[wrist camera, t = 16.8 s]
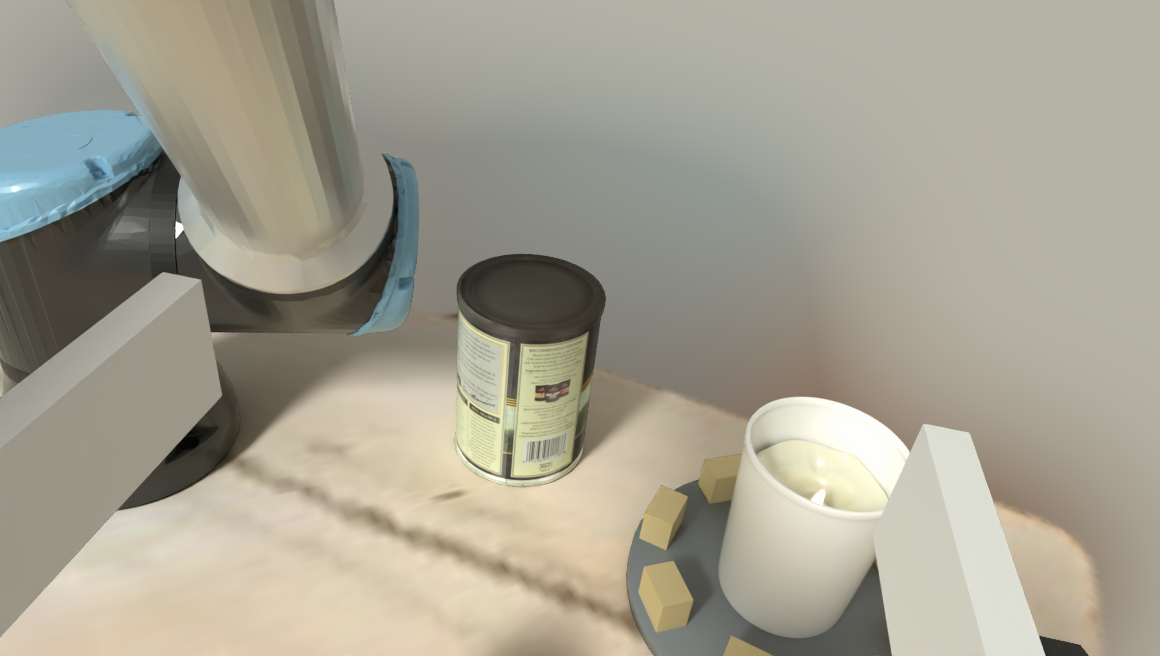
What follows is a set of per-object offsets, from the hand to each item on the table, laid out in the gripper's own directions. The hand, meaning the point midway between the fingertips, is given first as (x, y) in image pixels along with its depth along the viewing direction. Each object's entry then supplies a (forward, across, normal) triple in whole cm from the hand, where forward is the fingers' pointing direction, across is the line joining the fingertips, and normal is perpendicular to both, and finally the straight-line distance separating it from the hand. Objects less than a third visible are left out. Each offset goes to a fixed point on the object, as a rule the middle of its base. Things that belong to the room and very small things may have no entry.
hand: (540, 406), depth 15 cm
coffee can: (+35, -7, -34) cm, 49 cm away
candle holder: (+26, +13, -32) cm, 43 cm away
